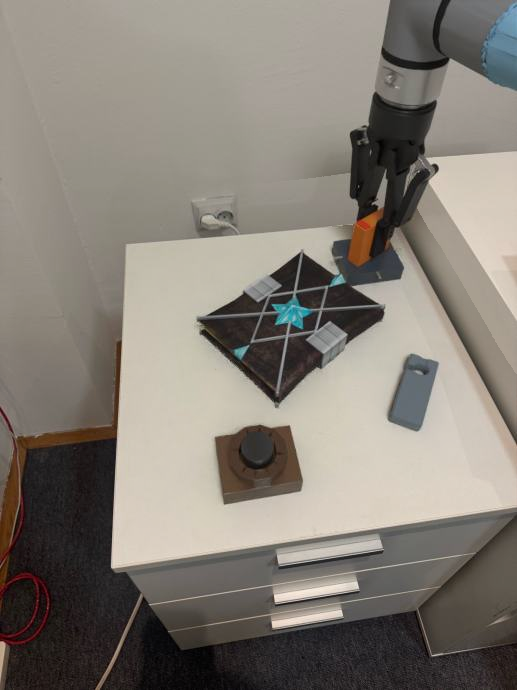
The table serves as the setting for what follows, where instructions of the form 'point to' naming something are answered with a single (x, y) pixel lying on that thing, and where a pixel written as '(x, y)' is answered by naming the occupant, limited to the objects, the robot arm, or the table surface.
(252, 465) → the release button
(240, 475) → the block
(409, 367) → the bracket
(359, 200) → the robot arm
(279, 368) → the book
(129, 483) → the table surface
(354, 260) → the orange handle lever
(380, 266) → the plate
